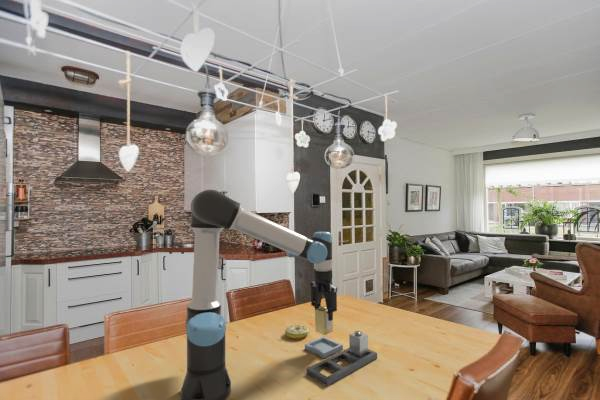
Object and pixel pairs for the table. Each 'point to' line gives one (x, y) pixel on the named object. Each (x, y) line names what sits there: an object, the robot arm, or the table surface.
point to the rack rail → (339, 366)
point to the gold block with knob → (321, 321)
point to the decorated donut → (296, 332)
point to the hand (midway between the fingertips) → (323, 325)
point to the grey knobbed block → (358, 344)
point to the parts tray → (323, 347)
